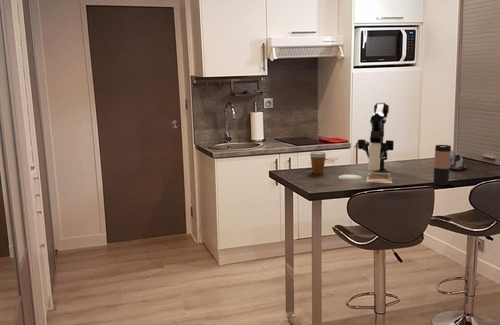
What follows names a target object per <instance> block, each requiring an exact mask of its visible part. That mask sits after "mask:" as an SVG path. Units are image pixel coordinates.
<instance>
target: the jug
mask: <svg viewBox="0 0 500 325" xmlns="http://www.w3.org/2000/svg"><path fill="white" fill-rule="evenodd" d="M368 151H369V158H368V164H367V166H368V167H367V168H368V171H369V170H370V171H381V170H380V152H381V143H369V146H368Z"/></svg>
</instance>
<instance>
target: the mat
mask: <svg viewBox="0 0 500 325" xmlns="http://www.w3.org/2000/svg"><path fill="white" fill-rule="evenodd" d="M337 179H338V180H339V181H342V180H345V181H346V180H347V181H348V180H349V181H356V180H357V181H358V180H362V179H363V177H362V176H361V175H357V174H356V175H355V174H341V175H339V176H338V178H337Z"/></svg>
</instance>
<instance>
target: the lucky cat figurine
mask: <svg viewBox="0 0 500 325" xmlns="http://www.w3.org/2000/svg"><path fill="white" fill-rule="evenodd" d="M466 167H467V166H466V164H465V161H464V158H463V157H462V156H461V155H460V153H457V154H455V152H454V151H453V150H452V149H451V155H450V169H452V170H453V169H454V170H464V169H466Z"/></svg>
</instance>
